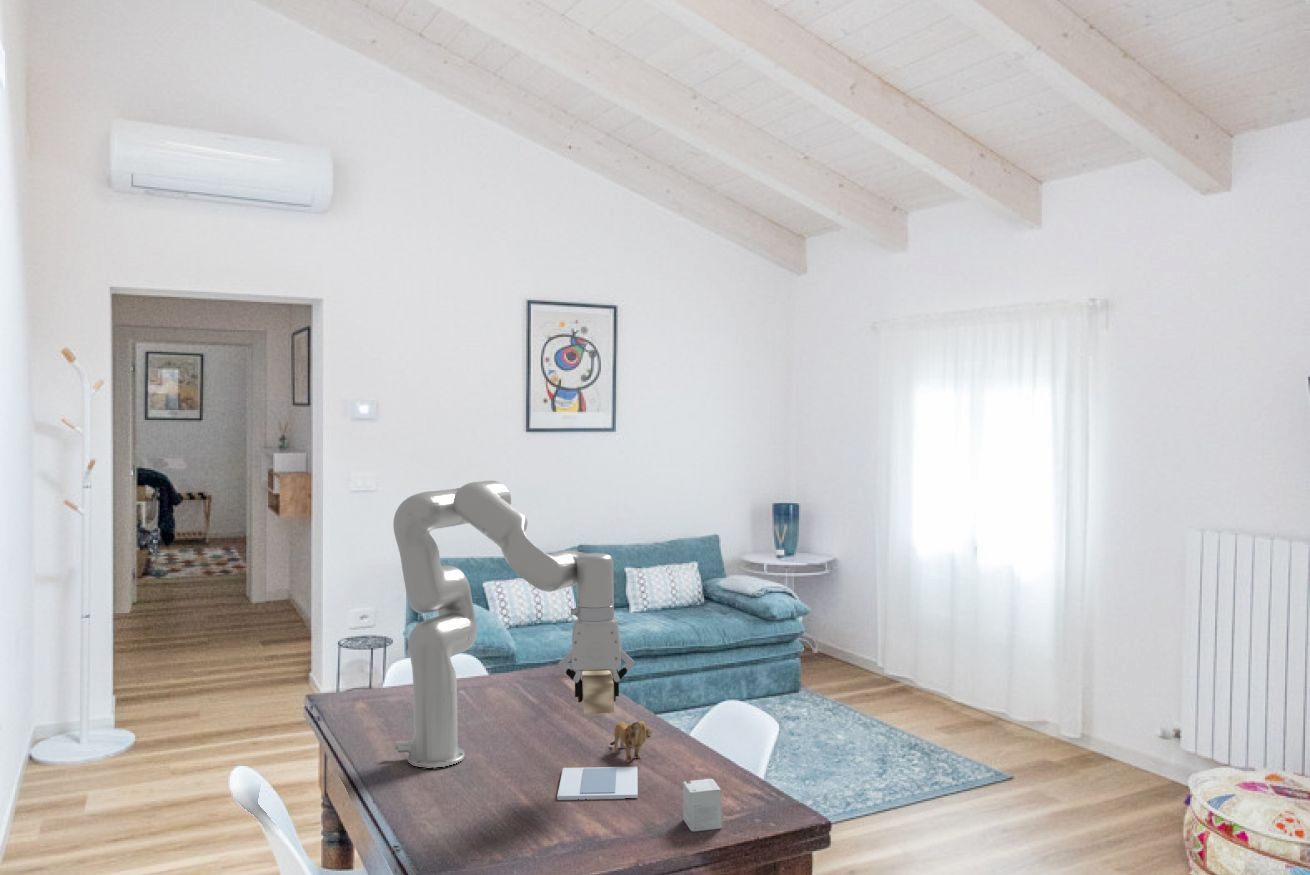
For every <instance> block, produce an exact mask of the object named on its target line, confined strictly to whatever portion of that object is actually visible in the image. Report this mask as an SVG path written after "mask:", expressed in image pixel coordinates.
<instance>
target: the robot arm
mask: <svg viewBox="0 0 1310 875" xmlns="http://www.w3.org/2000/svg"><path fill="white" fill-rule="evenodd" d="M510 493H511V492H510V491H509V489H508V488H507V487H506V486H505V484H503V483H501V482H499V481H496V480H483V481H473V482H468V483H466V484H464V485H462V486H461V487H458V488H450V489H442V490H441V489H440V490H431V491H424V492H419V493H415V494H412V495H410V496H409V497H406V499H404V500H403V501H402V502H401V503H400V504H399V505H398V507H397V509H396V511H395V512H394V513H395V514H394V517H393V527H392V528H393V534H394V537H395V541H396V545H397V548H398V552H399V556H400V562H401V564H400V565H401V570H402V574H403V575H402V576H403V582H404V587H405V593H406V598H407V602H408V604H409V606H410V608H411V610H413V611H414V612H415V613H418V614H428V613H433V612H436V611H437V613H438V616H434V617H431V618H429V619H425V620H423V621H421V622H419V623H417V625H415V626H414V628H412V630H411V632H410V633H409V636H408V641H407V645H408V646H407V647H408V649H407V650H408V652H409V659H410V663H411V668H412V685H413V686H412V692H413V693H412V694H413V695H412V696H413V699H412V700H413V739H410V740H409V741H405V740H401V741H400V740H399V741H398V740H396V741H395V743H394V750H395V751H397V753H399V754H400V753H401V754H402V753H408V755H407V757H406V761H407V760H408V762H409V763H411V764H413V765H417V766H421V767H443V768H446V767H445V766H448V767H450V766H449V765H452V766H454V765H453V764H455V765H457V764H459V763H460V761H461V762H462V761H463V760H465V758H464V757H466V752H465V750H464V749H462V748H460V747H459V745H458V743H459V742H458V683H457V674H456V671H455V668H454V666H453V664H452V659H451V658H452V657H453V656H456V655H460V654H462V653H464V652H466V651H468V650H470V649H471V648H472V646H473V645H474V644H475V642H476V641H477V636H478V634H477V633H478V626H477V620H476V613H475V608H474V602H473V597H472V591H471V587H470V582H469V581H468V578H467V576H466V575H465V572H463V571H462V570H461V569H460V568H458V567H456V566H453V565H442V562H441V557H440V551H439V547H438V544H437V542H436V540H434V538H433V536H432V535H431V534H430V533H431V531H432V530H435V529H436V530H437V529H444V528H450V527H455V526H461V525H465V524H466V525H467V524H470V526H472V527H473V528H474V529H476V530H478V531H479V532H480V533H481V534H483V535H484V536H486V537H487V538H488V539H489V540H491V541H492V543H494V544H496V545H497V546H498V547H499V548H500V549H501V550H500V551H501V552H502V555H503V557H504V559H505V561H506V563H507V564H508V565H509V567H510V568H511V570H513V572H514V573H515V574H516V575H518V576H519V577H521V579H523V580H524V581H525V582H527V583H528V584H529V585H531V586H532V587H534V588H536V589H537V590H540V591H542V592H547V593H549V592H550V593H552V592H555V591H559V590H562V589H564V588H565V589H566V588H568V587H572V586H576V589H577V591H576V592H577V596H576V598H577V602H576V603H577V606H576V607H574V608H570V615H571V616H574V617H576V618H577V619H574V621H573V626H572V632H571V633H572V634H571V650H570V651H569V652H568V653H567V654H566V655H565V656H564V657H563V658H562V659H561V660H560V661H559V663H558V667H559V668H560V669H561V670H562V672H564V673H565V674H566V675H567V676H568V678H570V679H571V680H572V682H573V684H574V697H575V698H577V699H578V703H582V680H581V675H582V672H583V671H607V670H610V672H611V675H612V679H613V682H614V703H615V702H616V700H617V698H616V697H620V684H619V683H620V681H621V679H622V678H623V677H625V675H626V674H627V673H628V672H629V671H630V670H631V669H632V667H633V666H634V665H635V660H634V659H632V657H631V656H630V655H628V654H627V652H626V651H625V650H623V649H622V646H621V634H620V627H619V621H618V619H617V618H615V604H614V602H615V600H614V599H615V598H614V597H615V595H614V594H615V593H614V592H615V590H614V589H615V588H614V560H613V558H612V556H611V555H610V554H607V553H604V552H603V553H600V552H591V553H586V552H581V551H577V550H568V549H567V550H563V551H562V550H561V551H557V552H553V553H549V554H548V553H546V552H545V551H544V550H542V549H541V548H540V547H539V546H537V545H535V544H534V543H533V542H532V540H531V539H529V538H528V536H527V535H526V530H527V527H528V518H527V516H525V514H524V513H522V512H521V511H519V510H518V509H517V508H515V507H514V506H512V505H511V504H512V496H511V494H510ZM622 661H624V662H625V664H624V665H623V666H622V667H621V664H622ZM569 662H571V666H572V667H570V666H569V664H568V663H569ZM620 667H621V668H620ZM408 762H407V763H408ZM458 762H459V763H458ZM456 763H457V764H456Z"/></svg>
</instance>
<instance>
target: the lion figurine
mask: <svg viewBox="0 0 1310 875" xmlns="http://www.w3.org/2000/svg"><path fill="white" fill-rule="evenodd" d="M652 734H653V729H650V728H649V726H647V725H646V722H645V721H643V720H641V721H640V720H638V721H635V722H633V723H631V724H629V725H628V724H627V722H624V721H620V722H618V723H617V724H616V725H615V728H614V740H613V741H611V742H610V743H609V745H610V746H614V750H613V754H614V753H618V754H619V752H620V751H619V748H621V749H625V754H626V755H625V756H626V757H625V758H626V759H625V762H627V761H631V760H632V756H631V750H632V749H634V755H633V757H634V758H635V757H636V758H640V755H639V751H640V748H642V746H643V745H644V744H646V742H647V740H649V739H651V736H652ZM636 758H635V759H636ZM640 759H641V758H640ZM631 762H632V761H631Z"/></svg>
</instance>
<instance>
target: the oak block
mask: <svg viewBox="0 0 1310 875" xmlns="http://www.w3.org/2000/svg"><path fill="white" fill-rule="evenodd" d="M581 680H582V702H581V703H582V708H583V709H582V710H583V715H592V714H593V715H595V714H612V713H615V702H614V682H613V676H612V674H611V672H610V670H607V671H583V672H582V675H581Z"/></svg>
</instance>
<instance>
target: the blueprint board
mask: <svg viewBox="0 0 1310 875" xmlns="http://www.w3.org/2000/svg"><path fill="white" fill-rule="evenodd" d="M638 779H639V778H638V766H605V767H603V766H602V767H601V766H599V767H596V766H595V767H594V766H593V767H588V766H587V767H563V768H562V771H561V776H560V782H559V787H558V791H557V795H556V797H557V801H574V800H575V801H577V800H578V799H579V800H584V801H585V799H587V800H621V799H622V800H626V799H625V798H639V797H638V796H639V794H638V793H639V792H638V791H639V790H638V788H639V787H638V785H639V784H638V783H639V782H638Z"/></svg>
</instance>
